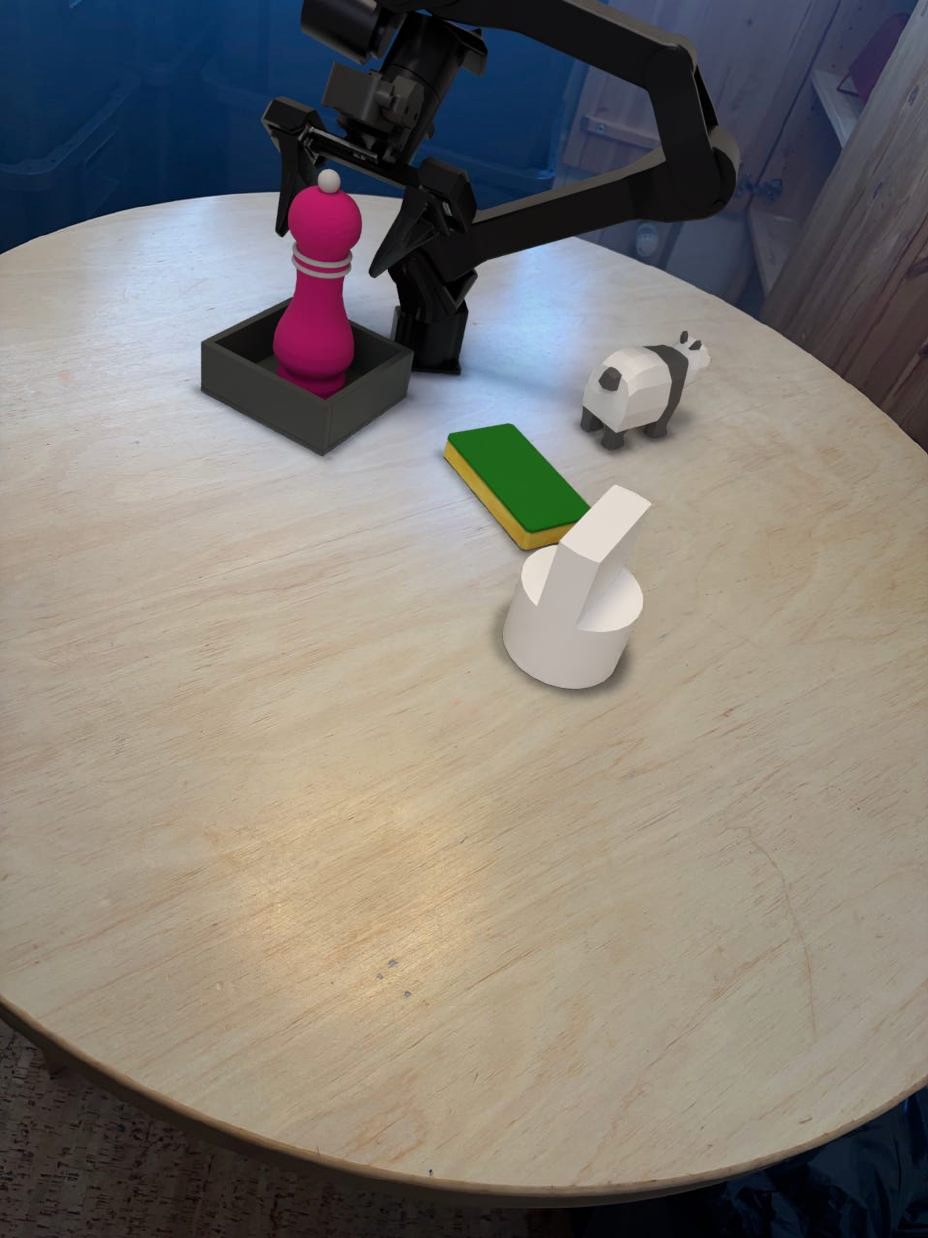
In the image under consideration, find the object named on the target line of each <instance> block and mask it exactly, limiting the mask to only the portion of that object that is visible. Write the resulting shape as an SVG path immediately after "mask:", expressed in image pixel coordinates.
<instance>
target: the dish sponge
mask: <svg viewBox="0 0 928 1238" xmlns="http://www.w3.org/2000/svg"><path fill="white" fill-rule="evenodd" d="M446 440H447V441H446V442H445V443H446V444H445V448H444V453H443V457H444V458H445V459H446V460H447V461H448V463H449V464H450V465H451V466H452V467H453V469H454V470H455V471H456V472H457V474H458V475H459V476H460V478H462V480H463V481H464V482H465V483H466V484H467V486H468V487H469V488H470V489H471V491H473V493H474V494H475V496H477V498H478V499H479V500H480V501H481V502H482V504H483V505H484V506H485V507H486V509H487V510H488V511H489V512H490V513H491V514H492V515H493V517H494V518H495V519H496V520H497V521H498V523H499V524H500V525H501V526H502V528H503V529H504V530H505V531H506V532H507V534H508V535H509V536H510V537H511V538H512V539H513V541H514V542H515V543H516V545H518V546H519V548H520V549H522V550H525V551H529V550H533V549H536V548H540V547H544V546H550V545H552V544H557V543H559V541H560V540H561V539H562V538H563V537H564V536H565V535H566V534H567V533H568V532H569V531H570V530H571V529H572V528H573V526H574V525H575V524H576V523H577V522H578V521H579V520H580V519H581V518H582V517H583V516H584V515H585V514H586V513H587V512H588V511H589V510H590V509H591V508H592V506H591V505H589V504H588V502H587V501H586V500H585V499H584V498H583V497H582V496H581V495H580V494H579V492H577V491H576V489H574V487H573V486H571V484H570V483H569V482H568V481H567V480H566V479H565V478H564V477H563V476H562V475H561V474H560V472H558V470H557V469H556V468H555V467H554V466H553V465H552V464H551V463H550V462H549V461H548V460H547V459H546V458H545V456H544V455H543V454H542V453H541V452H540V451H539V450H538V449H537V448H536V447H535V446H534V445H533V444H532V443H531V442H530V441H529V439H528V438H527V437H526V436H525V435H524V434H523V433H522V432H521V431H520V429H518V427H517V426H516V425H515V424H513V423H510V422H507V423H502V424H501V423H500V424H496V425H490V426H489V425H488V426H483V427H479V428H478V427H477V428H473V429H466V430H462V431H456V432H449V433H448V434H447V439H446Z"/></svg>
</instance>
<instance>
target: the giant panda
mask: <svg viewBox="0 0 928 1238" xmlns="http://www.w3.org/2000/svg"><path fill="white" fill-rule="evenodd" d="M712 360H713V357H712V356H711V355H710V354H709V352H708V348H707V347H706V346H705V345H704V344H703V343H702V341H701V339H698V340H697V339H696V338H693V337H692V336H690V335H689V332H688V330H683V331H682V332H681V334H680V336H679V338H678V339H676V341H675V342H673V343H672V344H671V345H670V346H669V345H665V344H657V345H641V346H629V347H626V348H622V349H618V350H617V351H615V352H613V353H612V354H610V355H609V356H608V357H607V358H606V359H604V360H603V361H601V363H600V364H598V365H597V366H596V367H594V369H593V371H592V372H591V374H590V376H589V379H588V380H587V383H586V385H585V387H584V392H583V393H584V395H583V398H582V411H581V412H582V414H581V419H580V425H579V426H580V428H581V430H583V431H585V432H586V433H593V432H594V433H595V432H598V431H600V430H603V429H604V432H603V435H602V438H601V441H600V444H601V445H602V447H603V448H604V449H606V450H608V451H613V450H618V449H621V448H623V447H625V445H626V442H625V440H624V437H625V434H626V433H628V431H629V430H630V429H634V428H637V427H642V426H644V428H643V434H645V435H646V436H647V437H649V438H651V439H657V438H661V437H664V436H667V435H668V430H667V427H668V424H669V422H670V420H671V418H672V417H673V415H674V413H675V411H676V409H677V408H678V406H679V404H680V402H681V399H682V394H683V390H684V389H685V388H687V387H689V386H691V385H693V384H695V383H696V382H699V381H700V380H702V379H703V378H705V376H706V373H707V371H708V368H709V366H710V364H711V363H712Z"/></svg>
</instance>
